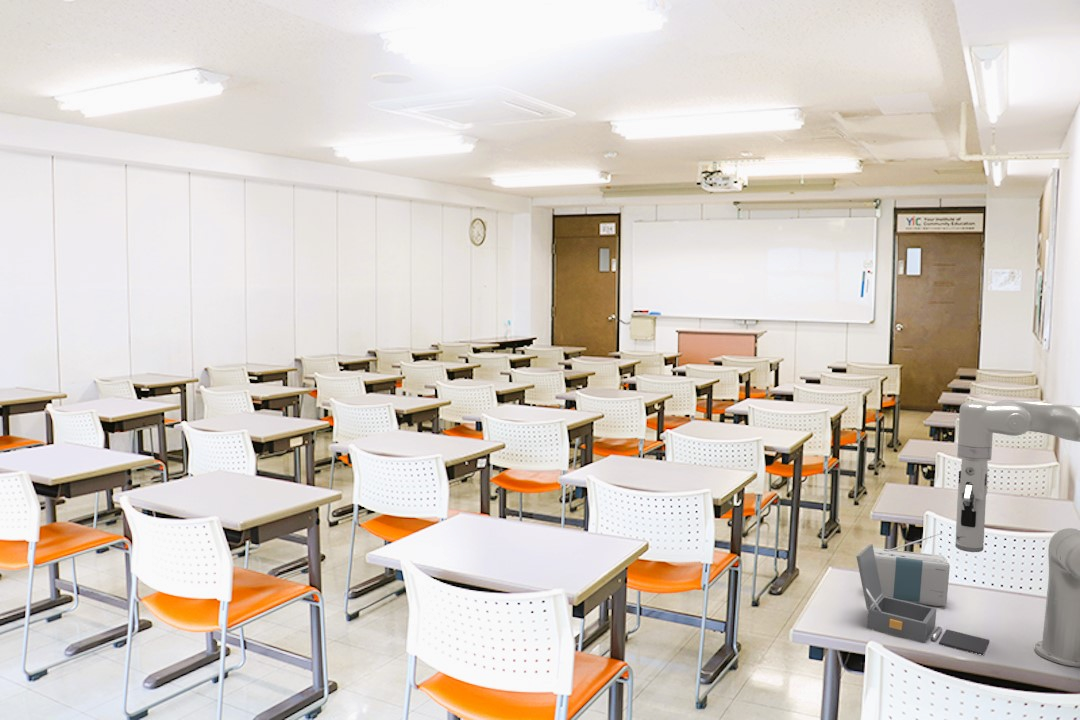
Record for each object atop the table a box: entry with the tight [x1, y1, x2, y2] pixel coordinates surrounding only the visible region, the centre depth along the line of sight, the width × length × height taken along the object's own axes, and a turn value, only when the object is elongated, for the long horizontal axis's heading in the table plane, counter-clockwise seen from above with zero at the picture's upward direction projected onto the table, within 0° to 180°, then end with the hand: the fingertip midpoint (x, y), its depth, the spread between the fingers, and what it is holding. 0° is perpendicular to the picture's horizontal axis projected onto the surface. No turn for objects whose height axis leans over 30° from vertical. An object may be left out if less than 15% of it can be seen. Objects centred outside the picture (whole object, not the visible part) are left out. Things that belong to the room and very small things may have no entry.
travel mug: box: [954, 470, 988, 553], centre depth 211 cm, size 6×7×20 cm
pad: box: [938, 628, 990, 656], centre depth 214 cm, size 10×10×1 cm
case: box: [855, 543, 937, 644], centre depth 222 cm, size 18×14×19 cm
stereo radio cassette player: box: [873, 532, 951, 608], centre depth 241 cm, size 21×8×20 cm, turn 73°
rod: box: [930, 626, 943, 642], centre depth 218 cm, size 1×9×1 cm, turn 145°
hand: (970, 522), depth 211 cm, fingers closed on travel mug, 6 cm apart
